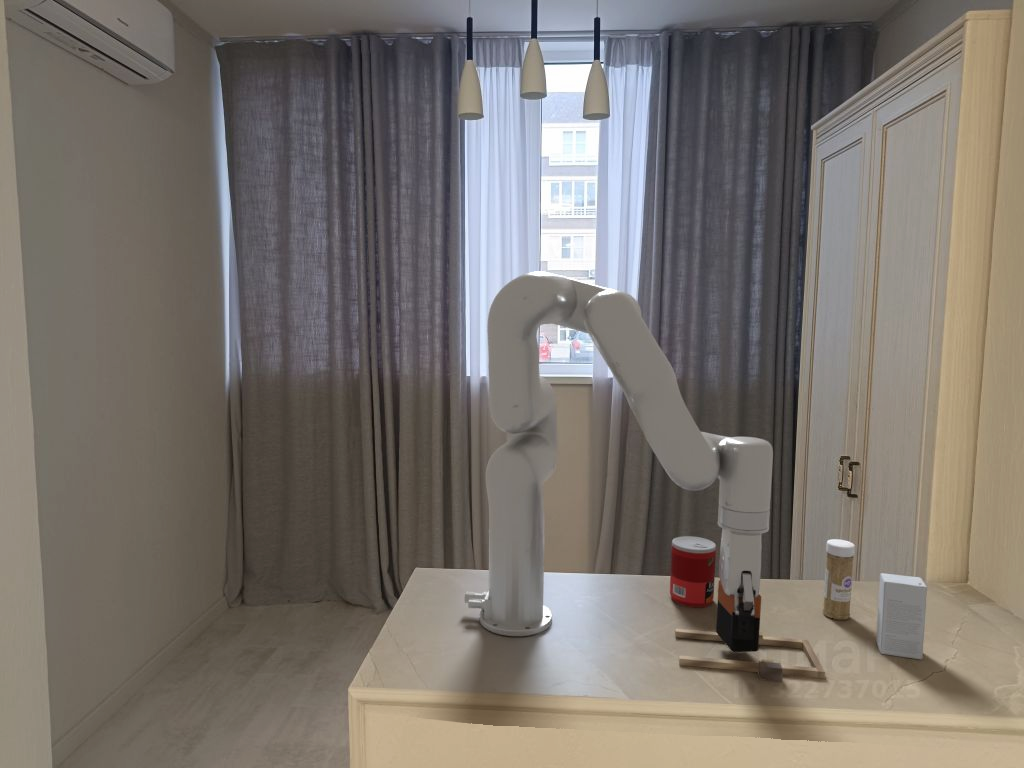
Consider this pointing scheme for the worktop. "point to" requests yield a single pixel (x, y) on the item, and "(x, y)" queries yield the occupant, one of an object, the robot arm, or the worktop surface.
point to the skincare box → (901, 615)
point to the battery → (725, 622)
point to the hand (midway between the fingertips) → (737, 625)
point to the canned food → (692, 571)
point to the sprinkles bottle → (838, 579)
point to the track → (764, 667)
